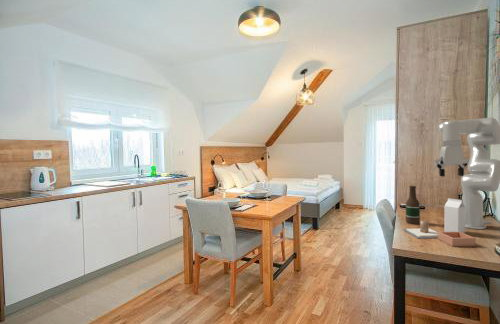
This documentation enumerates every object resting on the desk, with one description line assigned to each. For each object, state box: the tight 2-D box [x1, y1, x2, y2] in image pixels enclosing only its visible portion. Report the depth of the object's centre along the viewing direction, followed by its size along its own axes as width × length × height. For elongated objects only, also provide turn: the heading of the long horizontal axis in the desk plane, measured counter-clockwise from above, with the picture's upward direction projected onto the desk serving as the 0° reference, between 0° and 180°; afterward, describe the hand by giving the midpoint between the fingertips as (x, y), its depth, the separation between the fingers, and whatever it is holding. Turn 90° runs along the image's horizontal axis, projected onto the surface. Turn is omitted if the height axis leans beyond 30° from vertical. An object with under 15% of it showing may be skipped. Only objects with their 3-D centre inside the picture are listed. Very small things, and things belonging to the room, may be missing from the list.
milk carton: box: [443, 197, 466, 234], centre depth 157 cm, size 7×7×19 cm
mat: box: [402, 228, 438, 240], centre depth 156 cm, size 16×16×1 cm
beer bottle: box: [405, 185, 421, 225], centre depth 178 cm, size 8×8×24 cm
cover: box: [406, 219, 439, 237], centre depth 156 cm, size 13×13×7 cm
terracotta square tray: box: [437, 231, 476, 248], centre depth 141 cm, size 11×11×4 cm
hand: (451, 176), depth 149 cm, fingers open, 9 cm apart
